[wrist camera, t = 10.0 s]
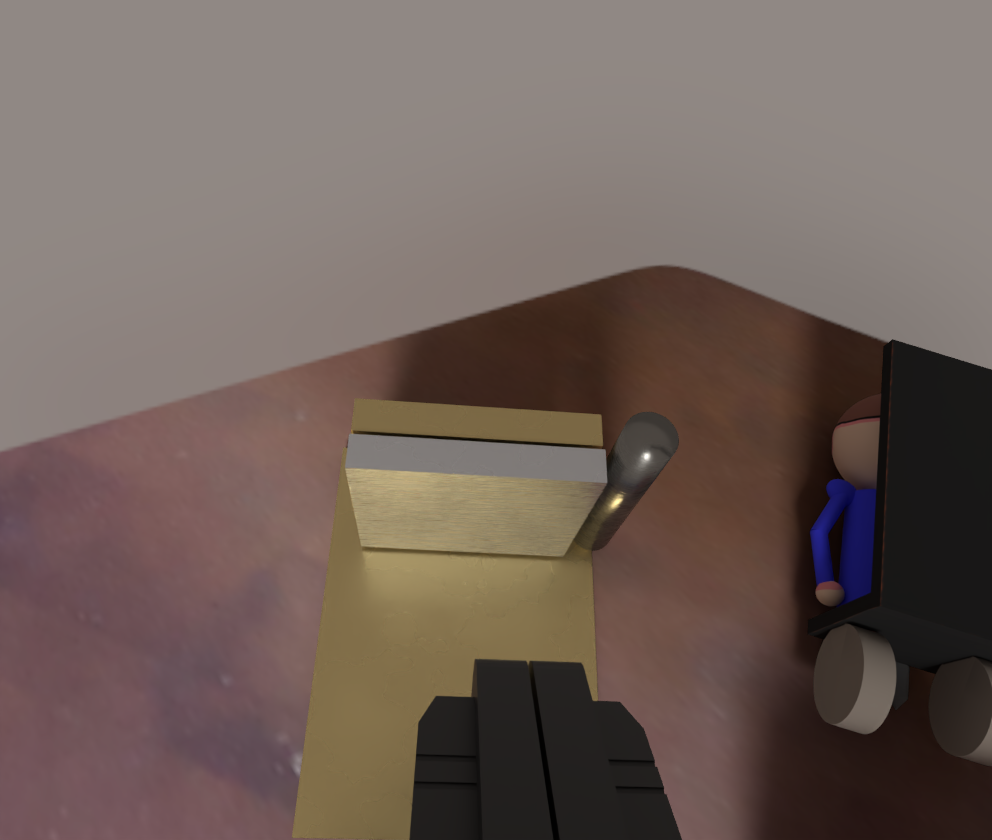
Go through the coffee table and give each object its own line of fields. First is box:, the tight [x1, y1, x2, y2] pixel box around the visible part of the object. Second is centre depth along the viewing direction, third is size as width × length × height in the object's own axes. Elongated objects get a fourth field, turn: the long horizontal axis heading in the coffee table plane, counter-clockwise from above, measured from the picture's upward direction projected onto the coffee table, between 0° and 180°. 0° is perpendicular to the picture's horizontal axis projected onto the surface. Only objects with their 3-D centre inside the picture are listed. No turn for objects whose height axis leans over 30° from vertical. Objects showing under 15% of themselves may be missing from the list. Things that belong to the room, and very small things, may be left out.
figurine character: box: [808, 340, 992, 766], centre depth 30 cm, size 7×8×15 cm
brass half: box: [292, 398, 679, 840], centre depth 25 cm, size 12×15×10 cm
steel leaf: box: [345, 434, 607, 557], centre depth 27 cm, size 8×1×8 cm, turn 89°
